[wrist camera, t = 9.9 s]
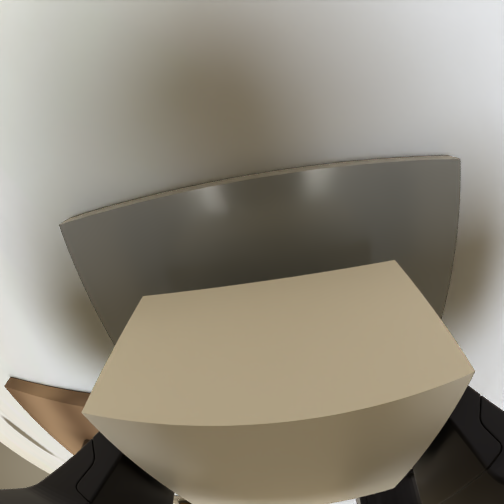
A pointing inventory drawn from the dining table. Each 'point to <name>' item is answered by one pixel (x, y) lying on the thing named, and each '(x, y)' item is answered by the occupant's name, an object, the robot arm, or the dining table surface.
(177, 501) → the condiment
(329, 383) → the tan cardboard carton
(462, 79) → the dining table surface
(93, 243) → the pad
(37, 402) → the post base
